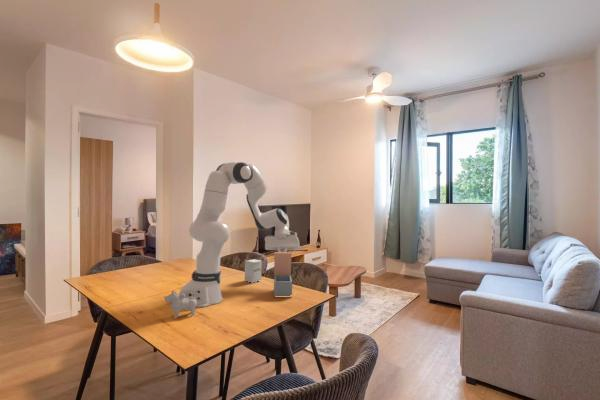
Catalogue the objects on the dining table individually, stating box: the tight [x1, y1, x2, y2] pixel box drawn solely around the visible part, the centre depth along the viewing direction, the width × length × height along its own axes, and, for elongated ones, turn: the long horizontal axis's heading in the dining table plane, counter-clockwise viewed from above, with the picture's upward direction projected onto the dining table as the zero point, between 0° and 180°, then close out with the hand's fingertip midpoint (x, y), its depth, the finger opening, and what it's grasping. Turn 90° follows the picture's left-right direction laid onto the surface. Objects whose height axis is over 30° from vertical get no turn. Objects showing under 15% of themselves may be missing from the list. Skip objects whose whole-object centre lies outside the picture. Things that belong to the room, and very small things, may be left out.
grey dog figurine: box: [163, 290, 197, 319], centre depth 127 cm, size 5×13×11 cm, turn 112°
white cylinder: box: [244, 258, 263, 284], centre depth 182 cm, size 7×7×13 cm
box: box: [273, 274, 293, 297], centre depth 160 cm, size 9×13×8 cm
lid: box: [273, 251, 293, 276], centre depth 165 cm, size 9×13×1 cm
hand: (282, 255), depth 171 cm, fingers closed
